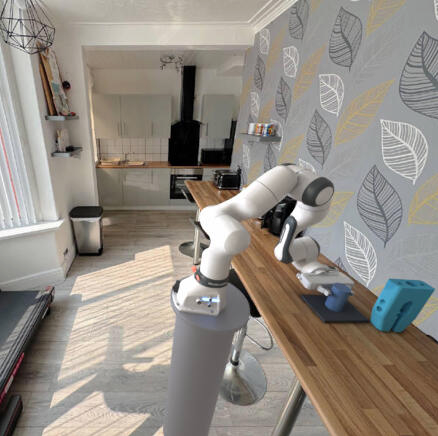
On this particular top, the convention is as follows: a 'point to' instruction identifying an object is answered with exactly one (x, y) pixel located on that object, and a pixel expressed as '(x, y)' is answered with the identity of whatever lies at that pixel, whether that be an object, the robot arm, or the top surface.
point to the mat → (328, 315)
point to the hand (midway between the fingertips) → (340, 294)
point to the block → (400, 304)
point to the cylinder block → (338, 297)
